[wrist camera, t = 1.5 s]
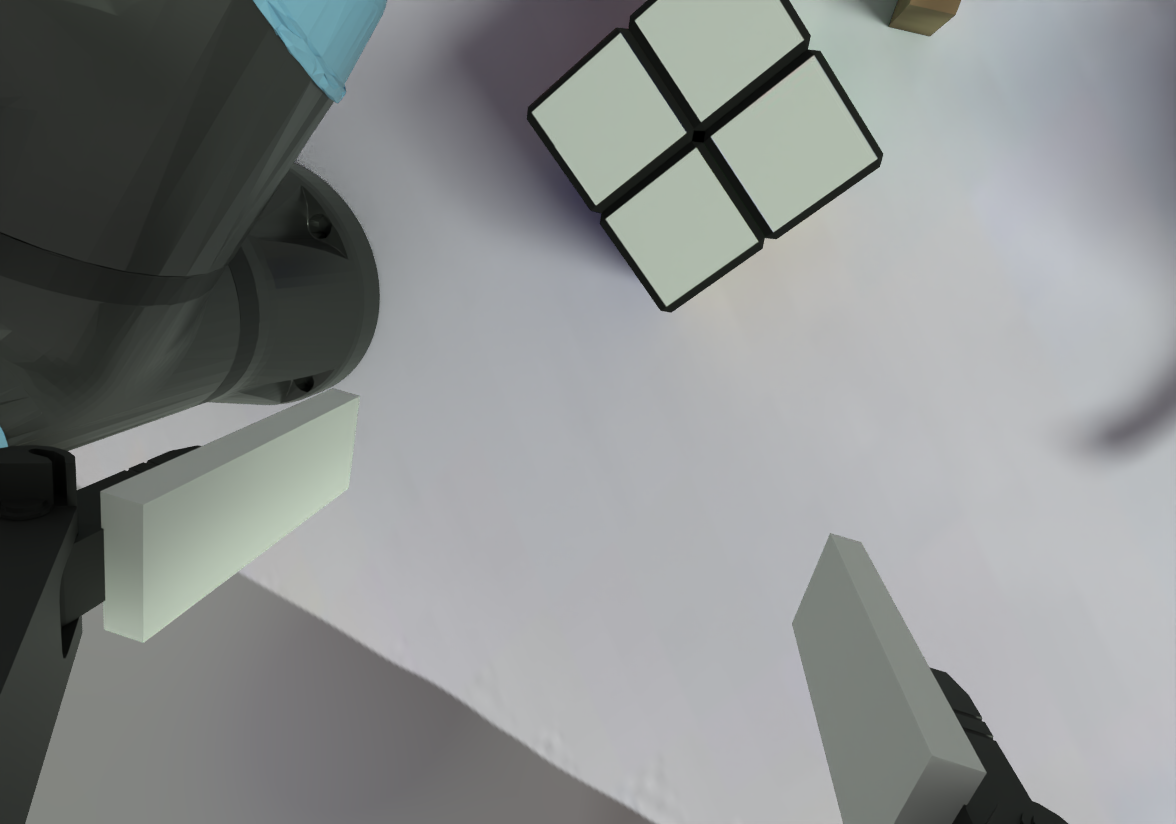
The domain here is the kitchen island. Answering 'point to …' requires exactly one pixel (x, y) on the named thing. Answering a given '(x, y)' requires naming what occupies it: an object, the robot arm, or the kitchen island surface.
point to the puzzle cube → (703, 136)
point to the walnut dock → (923, 15)
